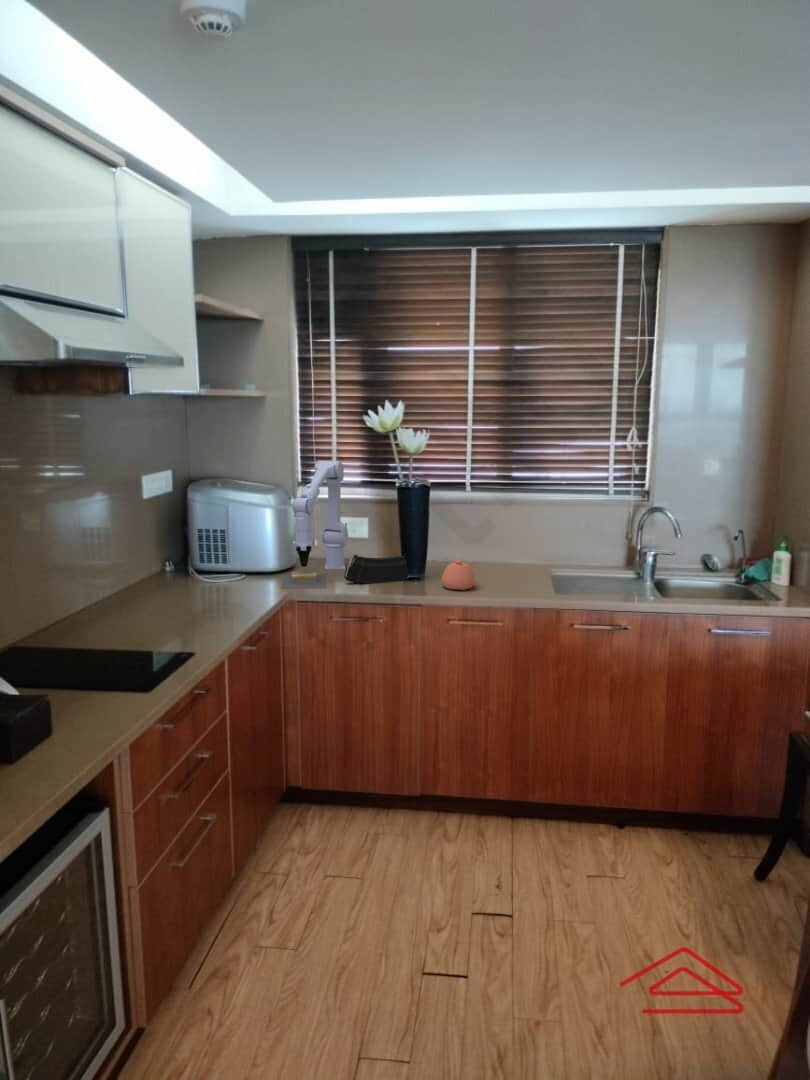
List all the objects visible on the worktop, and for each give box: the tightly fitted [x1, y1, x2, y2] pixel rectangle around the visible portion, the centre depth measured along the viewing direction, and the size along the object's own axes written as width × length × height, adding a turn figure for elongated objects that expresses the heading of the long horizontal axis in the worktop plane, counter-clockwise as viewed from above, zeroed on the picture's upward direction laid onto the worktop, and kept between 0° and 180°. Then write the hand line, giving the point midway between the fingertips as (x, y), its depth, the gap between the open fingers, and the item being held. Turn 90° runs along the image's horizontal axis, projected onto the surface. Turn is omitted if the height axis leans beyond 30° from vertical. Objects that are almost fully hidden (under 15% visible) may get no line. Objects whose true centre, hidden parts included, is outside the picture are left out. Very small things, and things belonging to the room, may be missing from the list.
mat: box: [280, 574, 327, 590], centre depth 277 cm, size 22×16×1 cm
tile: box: [291, 571, 317, 583], centre depth 278 cm, size 2×9×7 cm
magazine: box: [343, 554, 408, 585], centre depth 279 cm, size 17×3×30 cm
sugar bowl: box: [441, 559, 476, 591], centre depth 271 cm, size 12×14×10 cm
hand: (304, 566), depth 276 cm, fingers closed
